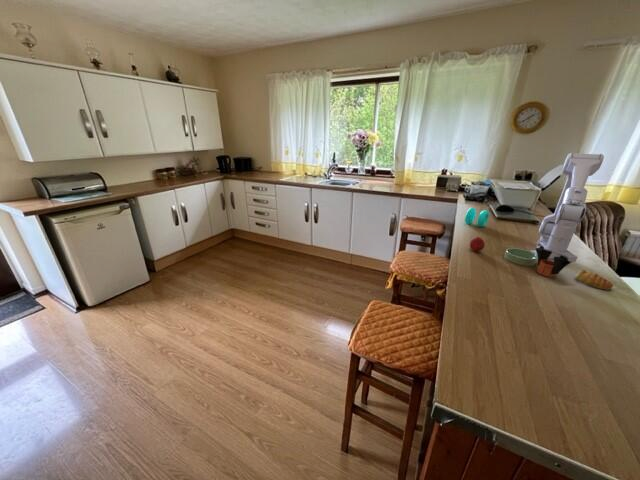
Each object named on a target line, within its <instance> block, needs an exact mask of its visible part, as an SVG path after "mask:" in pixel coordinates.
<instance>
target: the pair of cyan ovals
mask: <svg viewBox="0 0 640 480" xmlns="http://www.w3.org/2000/svg"><path fill="white" fill-rule="evenodd" d="M476 216H477V209H476V208H475V207H470V208H469V209H468V210H467V211H466V213H465V216H464V222H465V224H466V225H470V224H472V223H473V222H474V220H476V222H477V223H476V225H477V226H478V227H479V228H483V227H485V226H486V224H487V222H488V221H489V216H490V212H489V210H488V209H484V210H482V211H481V212H480V213H479V214H478V216H477V219H476Z"/></svg>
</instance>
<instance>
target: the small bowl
mask: <svg viewBox="0 0 640 480" xmlns="http://www.w3.org/2000/svg"><path fill="white" fill-rule="evenodd" d="M553 265H554V260H550V259H547V260H541V261H540V263H539V266H538V265H537V268H536V273H537V274H539V275H542V276H544V277H548V278H555V277H556V276H557V274H551V271H552V268H553Z"/></svg>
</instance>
